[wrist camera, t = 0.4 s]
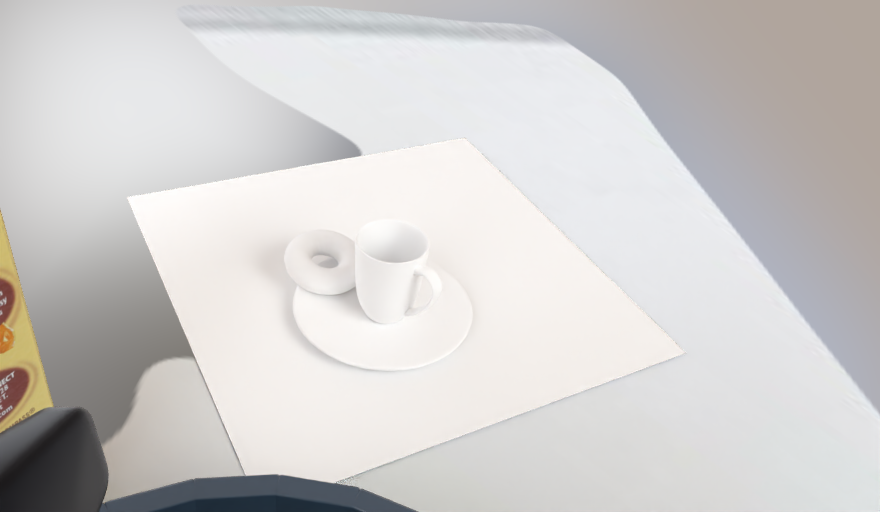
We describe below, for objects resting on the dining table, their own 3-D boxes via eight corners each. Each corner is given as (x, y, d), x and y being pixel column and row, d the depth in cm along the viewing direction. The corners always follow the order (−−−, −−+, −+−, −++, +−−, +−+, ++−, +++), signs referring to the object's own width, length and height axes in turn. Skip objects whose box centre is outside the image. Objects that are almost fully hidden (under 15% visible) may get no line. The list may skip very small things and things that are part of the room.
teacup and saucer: (261, 269, 38) (260, 196, 35) (412, 234, 41) (420, 166, 39) (336, 401, 32) (341, 326, 29) (504, 347, 36) (521, 276, 33)
